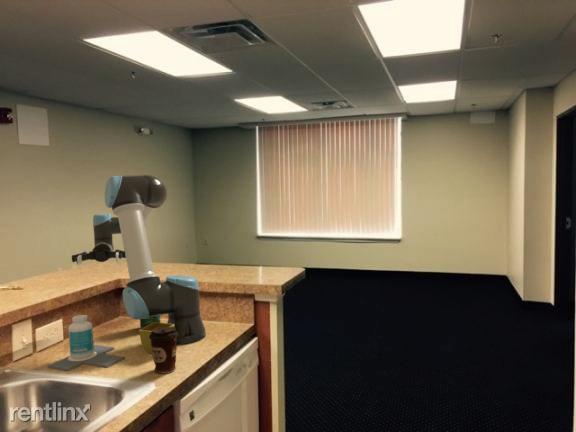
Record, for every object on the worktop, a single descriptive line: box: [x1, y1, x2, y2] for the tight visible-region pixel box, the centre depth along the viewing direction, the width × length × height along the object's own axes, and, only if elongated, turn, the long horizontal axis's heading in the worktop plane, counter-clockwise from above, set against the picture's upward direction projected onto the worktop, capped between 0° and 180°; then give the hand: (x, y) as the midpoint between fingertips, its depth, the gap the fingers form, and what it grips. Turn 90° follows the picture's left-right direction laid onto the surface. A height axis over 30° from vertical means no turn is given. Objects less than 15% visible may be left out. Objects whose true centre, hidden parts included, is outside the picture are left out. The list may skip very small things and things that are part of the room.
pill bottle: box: [67, 314, 95, 359], centre depth 157 cm, size 8×7×14 cm
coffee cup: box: [149, 327, 178, 374], centre depth 144 cm, size 9×8×13 cm
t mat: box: [47, 344, 126, 372], centre depth 156 cm, size 19×20×1 cm
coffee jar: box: [139, 315, 162, 329], centre depth 186 cm, size 10×8×19 cm
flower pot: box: [138, 322, 174, 355], centre depth 160 cm, size 9×9×9 cm
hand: (97, 259), depth 177 cm, fingers open, 13 cm apart
